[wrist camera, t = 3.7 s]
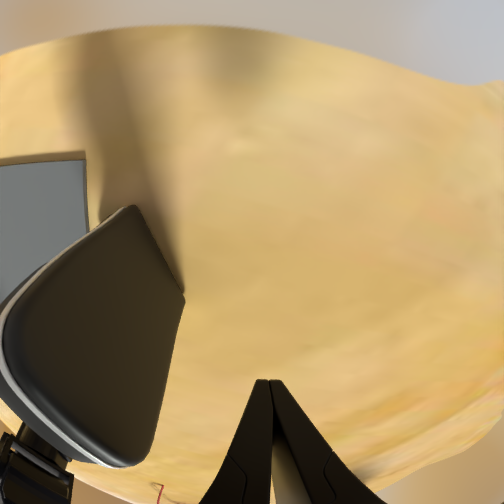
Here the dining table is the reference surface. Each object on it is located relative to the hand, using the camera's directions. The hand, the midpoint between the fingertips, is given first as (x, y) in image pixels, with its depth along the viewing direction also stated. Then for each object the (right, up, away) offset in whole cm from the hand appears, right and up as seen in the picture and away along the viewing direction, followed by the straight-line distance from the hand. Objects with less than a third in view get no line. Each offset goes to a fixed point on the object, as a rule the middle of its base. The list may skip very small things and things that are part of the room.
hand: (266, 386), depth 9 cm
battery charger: (-7, +4, +7) cm, 11 cm away
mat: (-18, +5, +6) cm, 20 cm away
